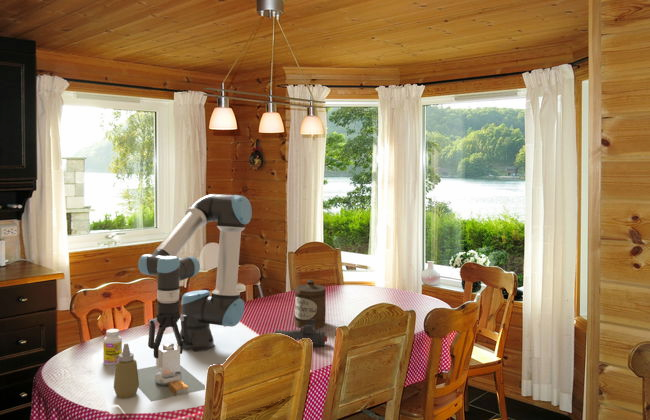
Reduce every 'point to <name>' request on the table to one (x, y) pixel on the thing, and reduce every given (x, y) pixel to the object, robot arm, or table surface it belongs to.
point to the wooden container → (310, 304)
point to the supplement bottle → (112, 346)
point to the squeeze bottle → (126, 375)
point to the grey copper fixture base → (171, 382)
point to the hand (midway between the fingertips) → (168, 364)
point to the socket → (169, 358)
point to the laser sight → (307, 333)
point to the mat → (160, 392)
